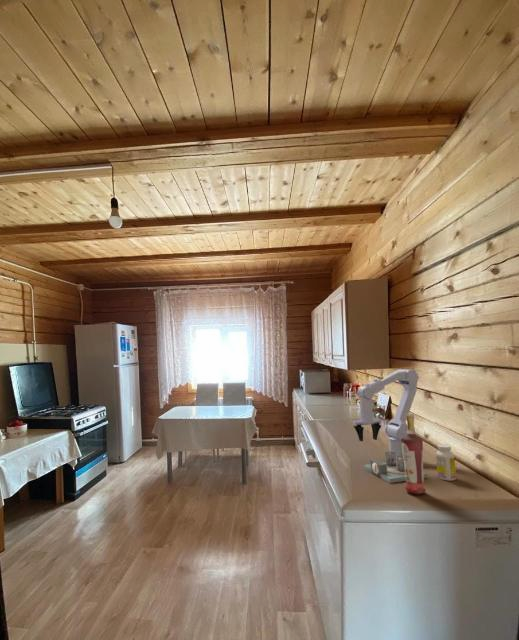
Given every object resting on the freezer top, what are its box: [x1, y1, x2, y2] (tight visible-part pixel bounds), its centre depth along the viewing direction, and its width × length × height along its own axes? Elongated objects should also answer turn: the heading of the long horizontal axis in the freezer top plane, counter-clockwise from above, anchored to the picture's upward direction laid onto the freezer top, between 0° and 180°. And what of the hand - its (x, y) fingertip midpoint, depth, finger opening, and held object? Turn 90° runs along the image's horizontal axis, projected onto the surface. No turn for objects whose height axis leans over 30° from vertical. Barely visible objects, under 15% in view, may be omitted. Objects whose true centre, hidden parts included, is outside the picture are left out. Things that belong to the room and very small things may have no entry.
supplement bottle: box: [435, 443, 457, 482], centre depth 137 cm, size 7×7×13 cm
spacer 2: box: [397, 456, 405, 472], centre depth 141 cm, size 4×4×5 cm
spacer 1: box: [384, 451, 396, 466], centre depth 148 cm, size 4×4×5 cm
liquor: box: [401, 413, 427, 496], centre depth 125 cm, size 7×7×28 cm
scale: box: [363, 459, 428, 484], centre depth 144 cm, size 18×18×5 cm
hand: (368, 440), depth 161 cm, fingers open, 7 cm apart
